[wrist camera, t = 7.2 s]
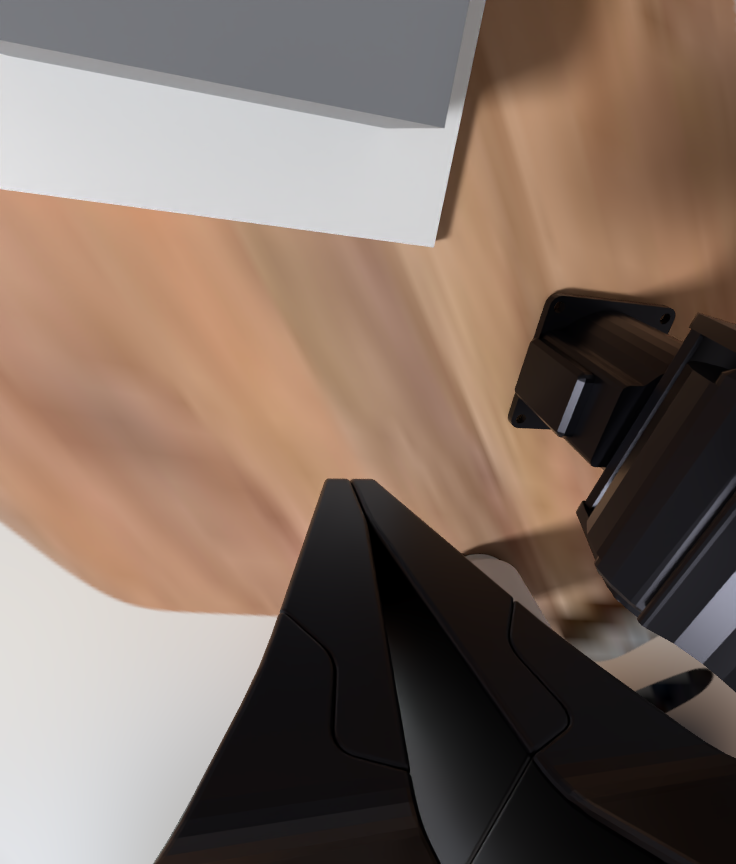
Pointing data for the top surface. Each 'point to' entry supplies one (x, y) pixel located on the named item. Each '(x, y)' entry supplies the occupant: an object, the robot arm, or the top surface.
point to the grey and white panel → (240, 108)
